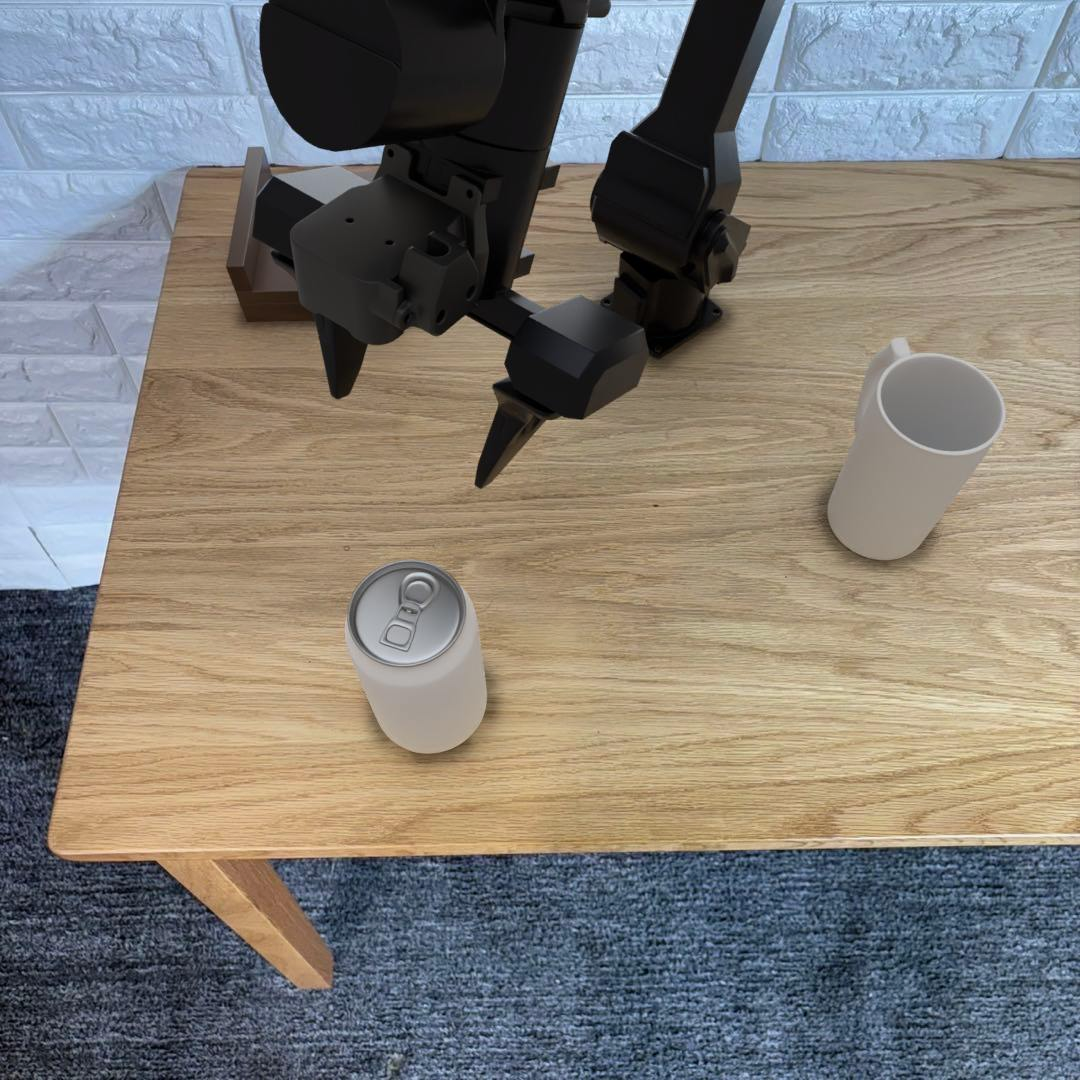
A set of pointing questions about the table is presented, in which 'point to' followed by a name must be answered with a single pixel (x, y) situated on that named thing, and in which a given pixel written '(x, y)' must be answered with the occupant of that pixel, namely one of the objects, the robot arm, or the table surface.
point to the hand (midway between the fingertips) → (409, 439)
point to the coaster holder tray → (261, 254)
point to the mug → (911, 448)
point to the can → (418, 655)
